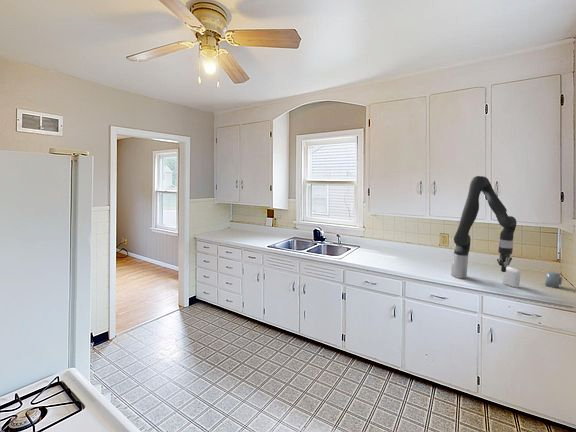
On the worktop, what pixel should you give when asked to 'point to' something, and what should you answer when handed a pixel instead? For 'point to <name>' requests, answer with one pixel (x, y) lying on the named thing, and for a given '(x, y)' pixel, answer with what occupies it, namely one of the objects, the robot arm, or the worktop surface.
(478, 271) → the worktop surface
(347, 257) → the worktop surface
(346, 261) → the worktop surface
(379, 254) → the worktop surface
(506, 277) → the photo printer
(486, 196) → the robot arm
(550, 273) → the grey rounded cylinder
